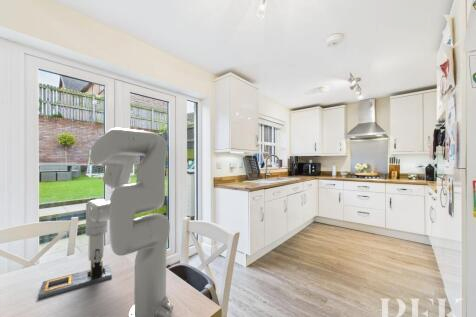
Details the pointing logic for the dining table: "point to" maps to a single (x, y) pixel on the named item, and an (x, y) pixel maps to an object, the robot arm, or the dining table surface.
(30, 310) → the dining table surface
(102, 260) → the brass plug
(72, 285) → the socket plate
